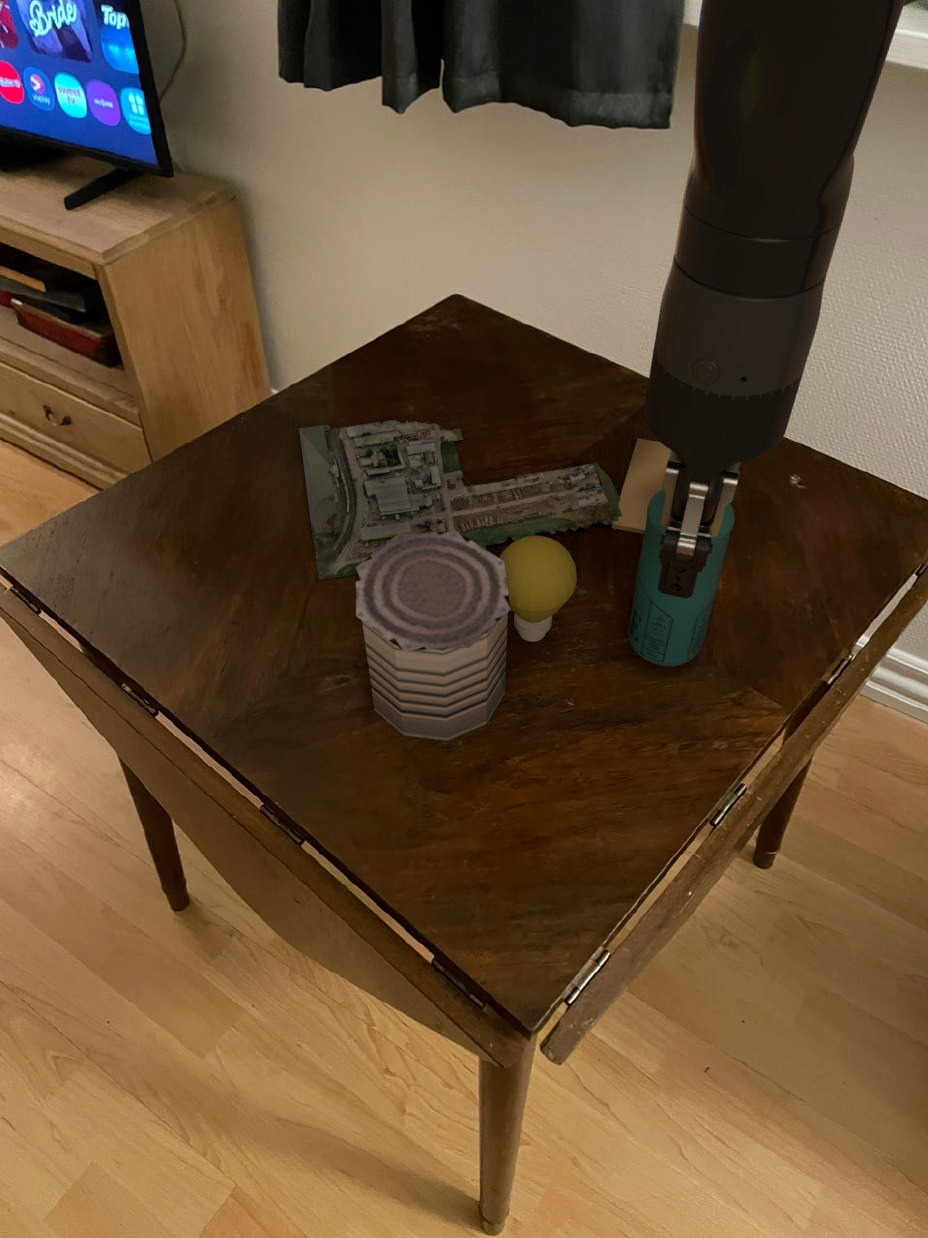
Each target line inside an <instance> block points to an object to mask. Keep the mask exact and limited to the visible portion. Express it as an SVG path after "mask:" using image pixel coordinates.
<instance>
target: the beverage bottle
mask: <svg viewBox="0 0 928 1238" xmlns="http://www.w3.org/2000/svg"><path fill="white" fill-rule="evenodd" d="M664 499H665V492H664V491H663V489H662V490H661V491H659V492H658V493H656V494H655V495H654V496H653V497H652V499H651V500H650V502H649V504H648V508H647V520H646V526H645V532H644V534H643V538H642V541H641V542H640V544H642V545H641V547H640V548H639V549H638V550H639V551H640V555H639V561H638V560H636V561H637V564H636V566H637V574H636V578H635V581H634V588H633V589H632V590H633V591H632V597H631V599H630V604H629V605H630V606H629V609H628V610H629V611H628V616H627V619H629V622H628V624H627V627H626V632H627V634H626V636H627V638H628V642H629V643H630V646H631V647H632V649H633V651H634V652H635V653H636V654H637V655H638V656H639V657H640V658H642V659H643V660H644V661H647V662H649V663H651V664H654V665H657V666H663V667H676V666H681V665H684V664H687V663H688V662H691V661H692V660H693V659H694V658H695V657H696V656H698V654H699V653H700V652H701V650H703V648H704V647H705V645H706V644H705V643H706V642H705V641H706V640H705V639H707V638H708V637H707V635H708V633H709V632H708V631H709V629H710V627H711V621H712V617H713V615H714V610H715V607H714V606H715V603H716V601H715V600H717V597H718V593H717V591H719V590H720V588H719V587H720V577H721V578H722V575H723V574H722V573H723V570H722V569H723V564H724V559H725V555H726V552H727V547H728V544H729V539H730V535H731V531H732V529H733V527H734V524H735V512H734V508H733V506H732V505H731V503H729V504H728V505H727V506H726V510H725V514H724V518H723V522H722V525H721V529H720V533H719V535H718V536H716V537H713V538H712V539H711V544H713V548H712V552H711V554H710V553H708V557H707V562H706V566H705V567H703V570H702V572H698V575H697V579H696V583H695V587H694V591H693V595H692V596H691V597H689V598H681V597H676V596H671V595H667V594H663V593H661V592H659V590H658V584H659V579H660V574H661V569H662V565H660V560H661V558H659V554H660V550H662V544H660V542H661V537H662V535H665V532H666V529H665V528H663V527H662V526H661V524H660V520H661V515H662V510H663V505H664Z"/></svg>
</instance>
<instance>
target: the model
mask: <svg viewBox="0 0 928 1238" xmlns="http://www.w3.org/2000/svg"><path fill="white" fill-rule="evenodd" d="M461 431H462V430H461V428H460V427H458V428H455V429H450V428H447V427H446V428H445V427H444V426H442V425H440V424H437V423H435V422H431V423H426V422H425V423H423V422H417V420H414V421H408V420H407V419H405V422H400V421H399V420H397V419H392V420H385V421H382V422H381V421H377V422H371V423H370V422H369V423H363V424H356V425H349V426H343V427H336V428H330V425H329V424H320V425H313V426H306V427H300V428H298V432H299V440H300V447H301V455H302V463H303V471H304V479H305V480H304V481H305V487H306V494H307V503H308V510H309V519H310V527H311V536H312V543H313V544H314V552H315V553H314V554H315V561H316V569H317V577H318V581H324V580H330V579H335V578H341V577H349V576H354V575H355V576H356V567H357V566H358V565H360V564H361V563H362V562H363V561H365V560H366V559H367V558H368V557H370V556H371V555H372V554H373V553H375V552H376V551H377V550H378V549H380V548H381V547H382V546H383V545H385V544H386V543H387V542H388V541H390V540H391V539H392V538H393V537H395V536H396V535H397V534H408V533H434V532H459V533H461V534H462V535H464V536H465V537H467V538H468V539H470V540H471V541H473V542H475V543H476V544H478V545H479V546H481V547H482V548H484V549H485V550H487V551H488V549H487V546H490V545H491V546H492V545H496V544H497V545H498V544H503V543H505V542H506V541H508V539H509V538H511V540H512V541H513V542H515V541H517V540H519V539H521V538H523V537H528V536H537V535H536V534H541V533H548V534H550V535H555V534H556V532H557V531H559V532H562V533H564V534H566V532H567V531H568V529H570V530H571V531H573V532H577V531H578V530H579V528H582V529H585V530H588V529H589V528H590V527H591V526H592V524H598V523H599V524H603V525H606V526H608V527H610V526H611V525H612V522H613V521H618V516H622V514H621V512H620V508H619V504H618V502H619V501H620V500H621V499H620V496H619V493H618V491H617V489H616V487H615V485H614V483H613V481H612V478H611V476H610V475H609V474H607V473H606V472H605V471H604V470H603V469H602V468H601V467H600V464H599V463H598V462H592V463H586V464H583V465H577V466H573V467H572V466H571V467H566V468H559V469H552V470H545V471H539V472H533V473H525V474H519V475H514V477H515V478H510V479H507V480H502V481H495V482H490V483H483V484H477V485H470V486H467V485H465V484H464V481H463V478H465V475H464V472H463V468H462V466H461V461H460V458H459V455H458V452H457V449H456V448H458V446H457V445H455V442H458V441H463V440H464V438H463V435H462V432H461Z"/></svg>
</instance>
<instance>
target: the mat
mask: <svg viewBox="0 0 928 1238" xmlns="http://www.w3.org/2000/svg"><path fill="white" fill-rule="evenodd" d="M670 452H671V449H669V448H667V447H666V446H664V445H663V444H662V443H660V442H659V441H658V440H657V441H656V440H650V439H645V438H640V437H639V438H637V439H636V441H635V446H634V449H633V452H632V456H631V460H630V462H629V466H628V469H627V473H626V475H625V479H624V483H623V486H622V489H621V492H620V496H619V497H620V499H621V500H620V501H617V502H618V504H619V508H620V512H621V514H622V516H618V521H613V522H612V523H611V529H613V530H619V531H624V532H630V533H635V534H639V535H644V532H645V526H646V520H647V508H648V504H649V502H650V500H651V499H652V497H653V496H654V495H655V494H656V493H658V492H659V491H661V490H662V486H663V480H664V475H665V470H666V466H667V461H668V459H669V458H670Z"/></svg>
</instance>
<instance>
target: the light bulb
mask: <svg viewBox="0 0 928 1238" xmlns="http://www.w3.org/2000/svg"><path fill="white" fill-rule="evenodd" d="M498 558H499V559H501V560H502V561H504V565H505V572H506V579H507V587H508V594H509V601H510V608H511V609H510V611H512V613H513V614H514V615H513V616H514V617H513V625H514V627H515V629H516V631H518V634H519V637H520V638H521V639H523V640H524V641H526V642H539V641H541V640H543V639H544V637H545V636H546V634H547V633H548V632H549V631H550V630H551V627H552V624H553V615H554V614H556V613H557V612H558V611H559V610H560V609H561V608H562V607H563V606H564V604H566V603H567V602H568V600H570V599H571V597H572V596H573V595H574V592H575V589H576V587H577V581H578V578H577V576H578V575H577V567H576V563H575V561H574V559H573V557H572V555H571V554H570V551H568V549H567V548H566V547H565V546H563V544H561V543H560V542H558V541H557V540H555V539H553V538H550V537H547V536H543V535H536V536H528V537H523V538H521V539H519V540H517V541H513V542H511V544H510V545H508V546H507V547H506V548H504V550H503V551H502V552H501V553H500V555H499V557H498Z"/></svg>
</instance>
